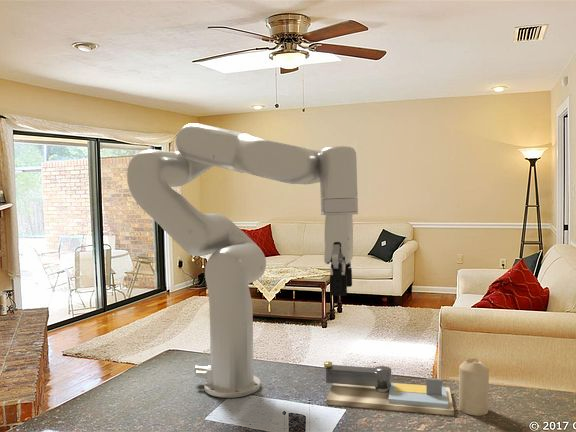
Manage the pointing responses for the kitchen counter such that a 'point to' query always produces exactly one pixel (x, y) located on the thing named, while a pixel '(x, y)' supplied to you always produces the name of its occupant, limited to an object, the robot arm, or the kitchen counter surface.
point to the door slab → (419, 394)
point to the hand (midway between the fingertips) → (341, 290)
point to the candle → (473, 387)
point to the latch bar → (358, 375)
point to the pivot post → (382, 389)
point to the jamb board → (378, 400)
